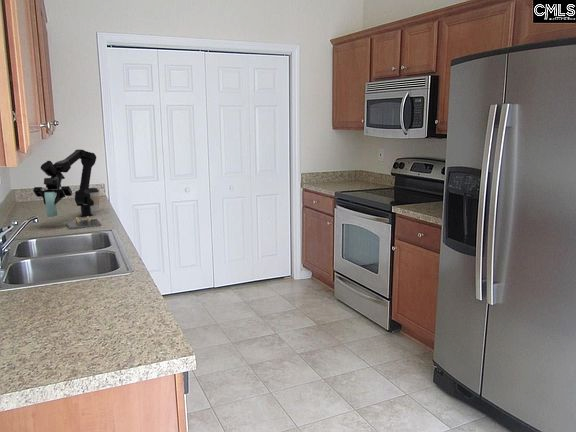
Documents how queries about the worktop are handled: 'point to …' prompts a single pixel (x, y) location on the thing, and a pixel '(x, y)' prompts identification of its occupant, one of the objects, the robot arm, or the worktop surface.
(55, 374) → the worktop surface
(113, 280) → the worktop surface
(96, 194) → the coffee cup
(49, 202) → the post
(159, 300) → the worktop surface
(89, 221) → the metal base plate
